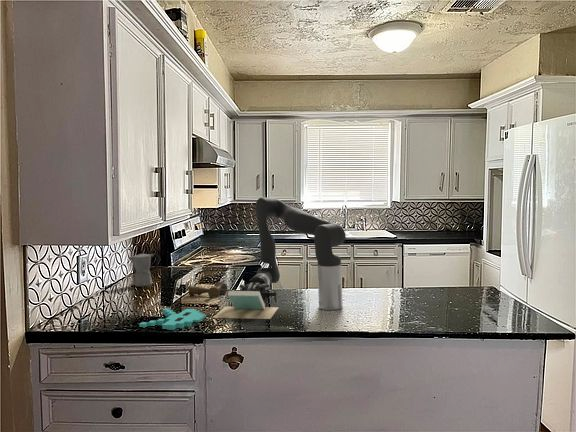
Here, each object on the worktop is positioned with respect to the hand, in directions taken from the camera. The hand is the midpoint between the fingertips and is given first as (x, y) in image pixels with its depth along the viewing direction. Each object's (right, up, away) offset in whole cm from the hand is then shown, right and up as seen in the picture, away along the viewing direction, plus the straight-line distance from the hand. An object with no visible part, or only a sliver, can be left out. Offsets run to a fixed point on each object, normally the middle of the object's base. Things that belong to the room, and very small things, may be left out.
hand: (248, 293), depth 179 cm
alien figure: (-26, -10, -8) cm, 29 cm away
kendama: (-20, -7, +29) cm, 35 cm away
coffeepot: (-58, -5, +58) cm, 82 cm away
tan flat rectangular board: (0, -8, -3) cm, 8 cm away
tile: (0, -6, +1) cm, 6 cm away
